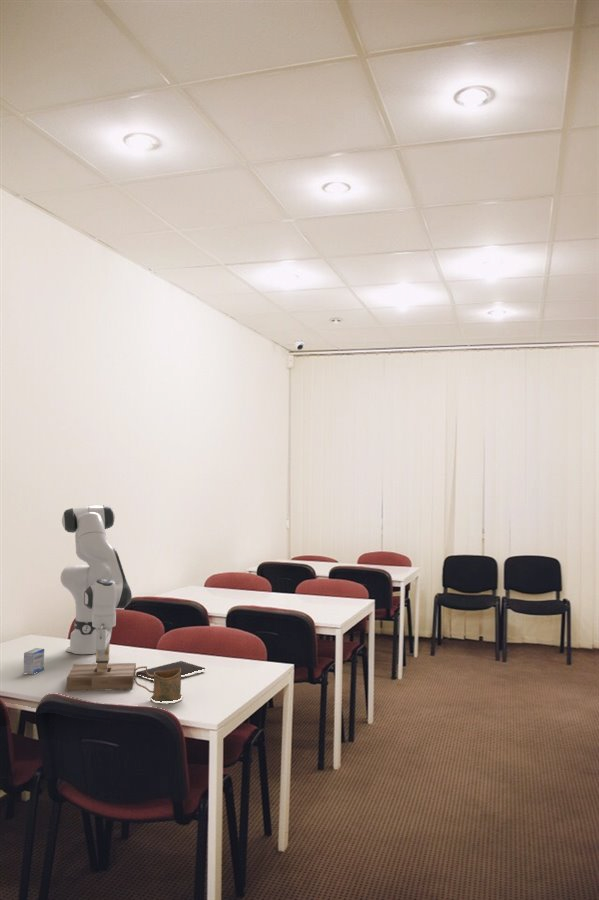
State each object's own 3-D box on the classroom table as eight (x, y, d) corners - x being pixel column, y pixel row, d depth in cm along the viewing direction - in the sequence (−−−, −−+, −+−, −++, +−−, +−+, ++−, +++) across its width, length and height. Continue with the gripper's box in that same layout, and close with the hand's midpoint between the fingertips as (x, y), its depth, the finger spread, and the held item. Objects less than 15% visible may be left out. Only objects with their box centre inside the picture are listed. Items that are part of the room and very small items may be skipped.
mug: (133, 695, 254) (134, 662, 255) (181, 693, 258) (182, 660, 259) (133, 706, 243) (134, 671, 243) (183, 703, 247) (184, 669, 247)
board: (73, 677, 275) (74, 664, 276) (135, 675, 279) (135, 662, 280) (66, 691, 258) (66, 677, 258) (132, 689, 262) (132, 675, 262)
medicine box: (32, 675, 277) (33, 653, 277) (22, 674, 278) (23, 652, 278) (44, 669, 285) (44, 648, 285) (34, 668, 286) (35, 647, 286)
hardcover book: (205, 673, 286) (205, 668, 286) (161, 685, 269) (161, 679, 269) (180, 666, 297) (180, 660, 297) (135, 677, 279) (136, 671, 279)
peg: (96, 673, 270) (97, 642, 271) (108, 672, 271) (109, 641, 272) (95, 676, 266) (96, 644, 266) (107, 676, 267) (108, 644, 267)
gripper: (109, 627, 260) (108, 664, 259) (114, 616, 280) (113, 650, 279) (92, 627, 259) (91, 664, 258) (98, 616, 279) (97, 651, 278)
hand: (102, 657), depth 269 cm, fingers closed on peg, 4 cm apart
